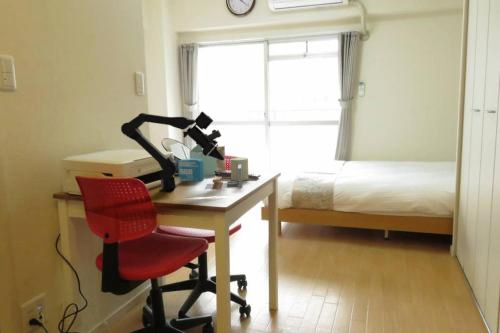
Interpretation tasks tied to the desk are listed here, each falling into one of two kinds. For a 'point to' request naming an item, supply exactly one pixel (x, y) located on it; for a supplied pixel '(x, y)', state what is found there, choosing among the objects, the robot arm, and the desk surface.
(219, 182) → the offcut stack
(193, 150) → the grey-green peaked box
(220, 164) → the birch strip
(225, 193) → the desk surface
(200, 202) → the desk surface
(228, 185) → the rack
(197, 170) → the data package
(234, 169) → the can
